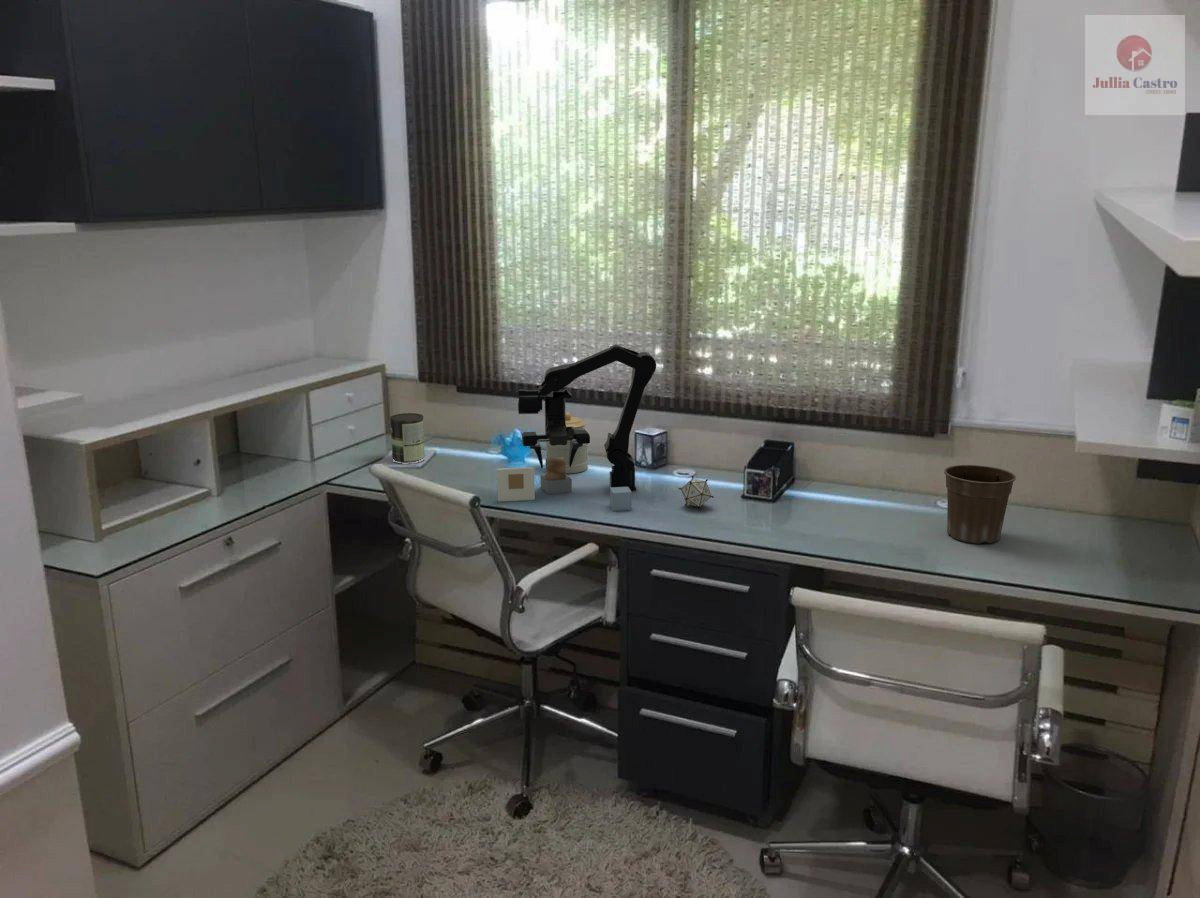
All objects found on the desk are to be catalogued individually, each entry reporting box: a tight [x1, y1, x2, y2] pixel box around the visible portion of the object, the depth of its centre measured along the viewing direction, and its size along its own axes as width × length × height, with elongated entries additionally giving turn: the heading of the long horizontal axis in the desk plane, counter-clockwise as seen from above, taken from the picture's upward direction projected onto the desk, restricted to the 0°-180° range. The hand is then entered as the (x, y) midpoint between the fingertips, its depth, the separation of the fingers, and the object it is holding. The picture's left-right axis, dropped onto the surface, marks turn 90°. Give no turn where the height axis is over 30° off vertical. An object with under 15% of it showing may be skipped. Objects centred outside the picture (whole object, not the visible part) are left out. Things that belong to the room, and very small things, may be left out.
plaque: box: [496, 466, 536, 502], centre depth 264 cm, size 10×2×9 cm, turn 100°
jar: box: [545, 411, 589, 475], centre depth 293 cm, size 13×13×18 cm
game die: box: [678, 475, 715, 511], centre depth 258 cm, size 9×8×10 cm
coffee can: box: [389, 412, 426, 463], centre depth 303 cm, size 10×10×14 cm
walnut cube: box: [545, 457, 567, 480], centre depth 273 cm, size 5×5×5 cm
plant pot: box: [943, 464, 1017, 544], centre depth 235 cm, size 16×16×16 cm
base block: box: [540, 473, 573, 495], centre depth 274 cm, size 7×7×4 cm
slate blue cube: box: [609, 486, 633, 512], centre depth 258 cm, size 5×5×5 cm
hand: (556, 467), depth 273 cm, fingers open, 8 cm apart
